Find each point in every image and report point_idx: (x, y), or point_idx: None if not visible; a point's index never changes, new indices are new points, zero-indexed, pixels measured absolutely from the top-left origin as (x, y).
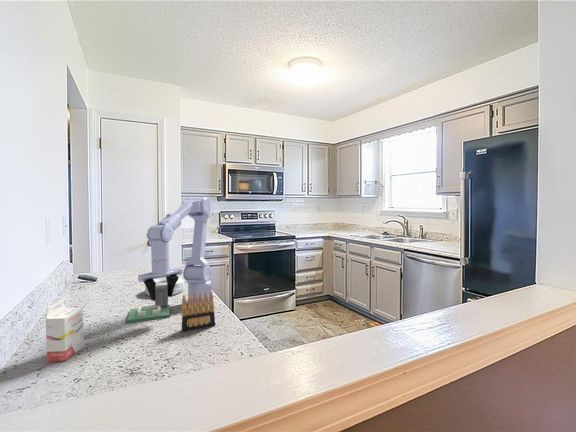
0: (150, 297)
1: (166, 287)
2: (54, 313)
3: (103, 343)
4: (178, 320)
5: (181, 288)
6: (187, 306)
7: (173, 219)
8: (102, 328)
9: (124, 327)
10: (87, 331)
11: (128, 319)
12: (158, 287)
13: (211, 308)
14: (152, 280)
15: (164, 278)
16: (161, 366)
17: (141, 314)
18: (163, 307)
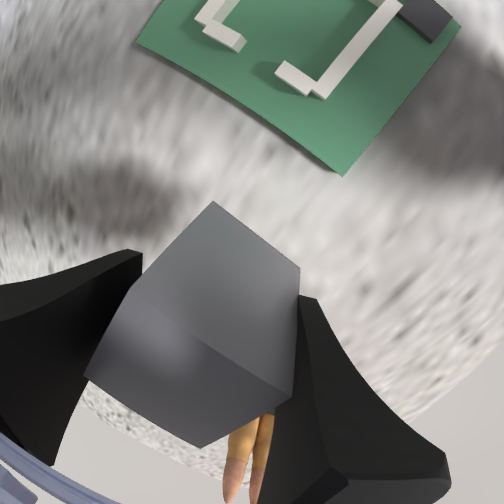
0: (111, 256)
1: (196, 442)
2: None
3: (27, 194)
4: (329, 259)
5: None
6: (254, 451)
7: None
8: (63, 36)
9: (110, 94)
10: (31, 32)
11: (146, 36)
12: (129, 382)
13: None
14: (12, 441)
15: None
16: (112, 411)
17: (215, 39)
18: (407, 29)
